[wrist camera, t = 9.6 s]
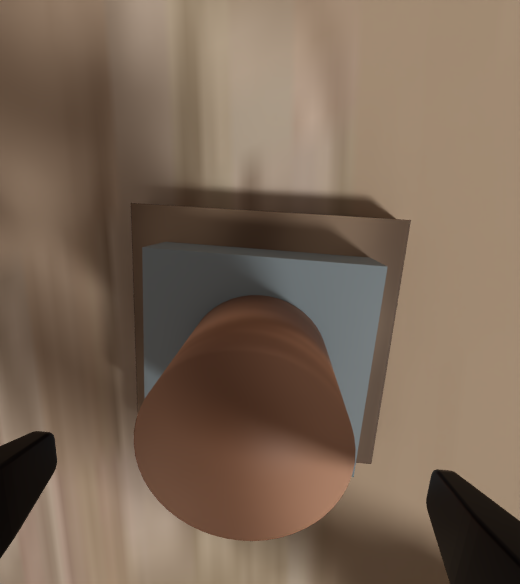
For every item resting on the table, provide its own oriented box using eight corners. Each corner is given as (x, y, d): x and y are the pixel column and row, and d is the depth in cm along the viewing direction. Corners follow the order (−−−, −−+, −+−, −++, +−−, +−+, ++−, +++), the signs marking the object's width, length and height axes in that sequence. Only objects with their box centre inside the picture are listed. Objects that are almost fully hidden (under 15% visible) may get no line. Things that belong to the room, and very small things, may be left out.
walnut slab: (391, 219, 16) (411, 220, 14) (360, 432, 19) (371, 463, 17) (153, 204, 17) (130, 203, 14) (156, 412, 20) (138, 440, 17)
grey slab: (370, 257, 14) (387, 266, 12) (343, 438, 16) (353, 477, 14) (165, 241, 15) (142, 247, 12) (165, 418, 17) (145, 453, 14)
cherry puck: (333, 299, 12) (368, 357, 7) (320, 428, 14) (343, 549, 9) (187, 290, 12) (127, 342, 8) (188, 418, 14) (138, 531, 9)
